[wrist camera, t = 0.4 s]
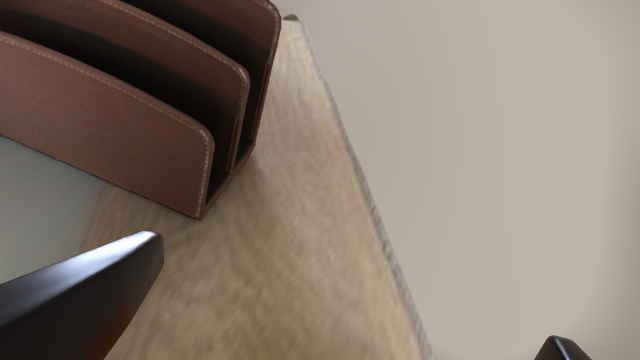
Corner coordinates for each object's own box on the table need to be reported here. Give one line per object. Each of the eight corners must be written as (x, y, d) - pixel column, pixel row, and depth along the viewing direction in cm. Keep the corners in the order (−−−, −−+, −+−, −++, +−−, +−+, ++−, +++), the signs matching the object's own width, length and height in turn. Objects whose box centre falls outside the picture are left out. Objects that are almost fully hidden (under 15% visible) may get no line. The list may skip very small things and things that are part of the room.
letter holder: (57, 67, 36) (30, -116, 27) (254, 151, 36) (293, -6, 27) (-50, 116, 29) (-136, -114, 20) (200, 225, 28) (228, 39, 19)
